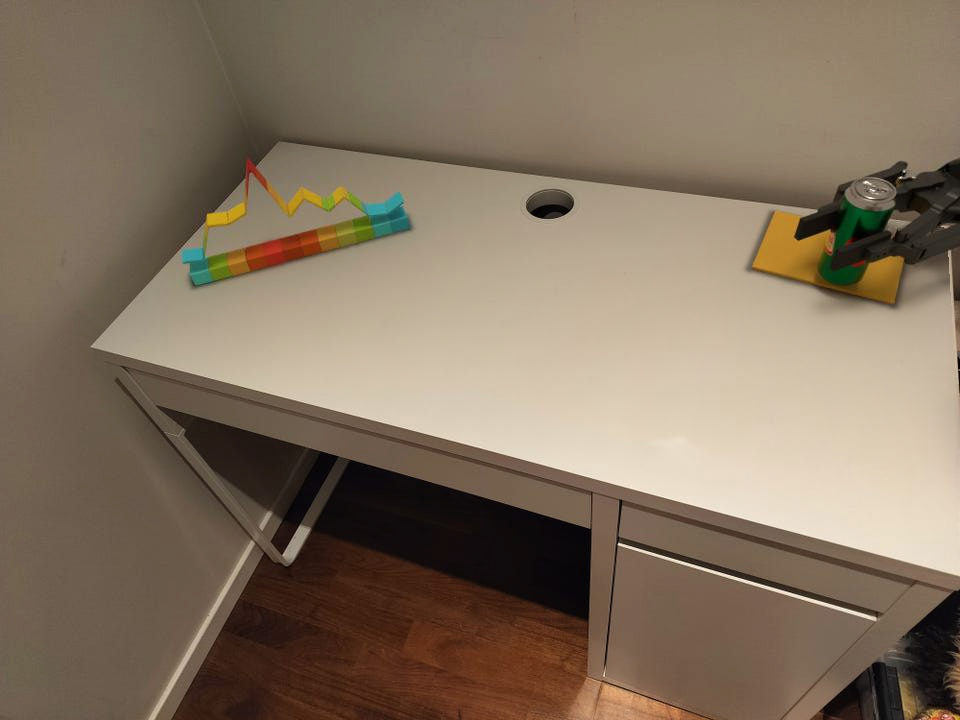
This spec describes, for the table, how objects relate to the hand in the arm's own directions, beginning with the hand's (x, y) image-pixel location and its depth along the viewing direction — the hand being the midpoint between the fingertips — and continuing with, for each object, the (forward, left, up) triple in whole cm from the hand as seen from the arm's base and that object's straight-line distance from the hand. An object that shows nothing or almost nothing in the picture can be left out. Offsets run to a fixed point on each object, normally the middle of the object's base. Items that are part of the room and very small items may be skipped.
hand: (817, 244), depth 73 cm
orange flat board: (-2, -9, -8) cm, 12 cm away
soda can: (-3, -4, -7) cm, 9 cm away
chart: (+63, +16, -8) cm, 65 cm away
